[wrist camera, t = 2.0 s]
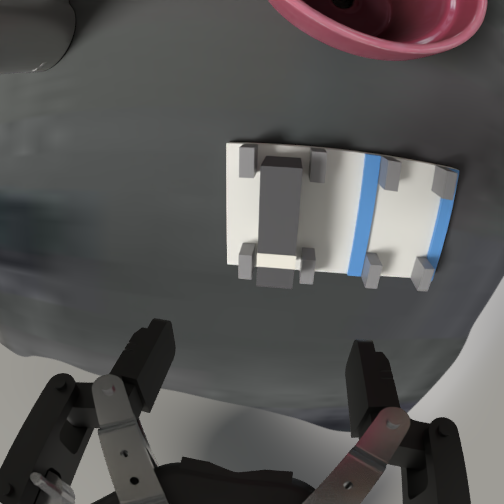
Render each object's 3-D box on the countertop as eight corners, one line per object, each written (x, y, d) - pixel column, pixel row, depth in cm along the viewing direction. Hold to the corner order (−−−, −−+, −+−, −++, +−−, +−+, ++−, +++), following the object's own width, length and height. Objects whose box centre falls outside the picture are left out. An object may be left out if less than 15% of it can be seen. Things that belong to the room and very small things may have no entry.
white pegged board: (228, 141, 26) (220, 146, 23) (453, 167, 24) (470, 176, 21) (229, 259, 32) (222, 276, 29) (428, 274, 30) (439, 291, 26)
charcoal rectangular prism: (265, 155, 26) (259, 166, 21) (301, 157, 25) (303, 168, 21) (261, 258, 30) (255, 286, 26) (293, 260, 30) (292, 289, 25)
